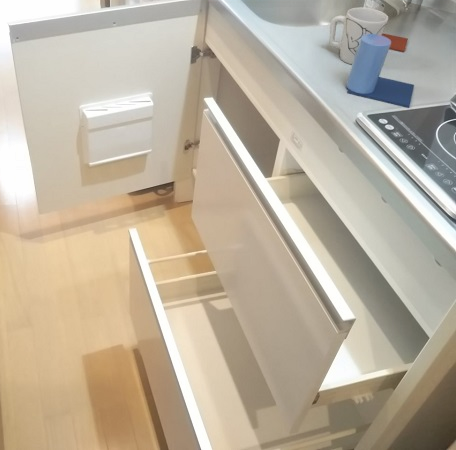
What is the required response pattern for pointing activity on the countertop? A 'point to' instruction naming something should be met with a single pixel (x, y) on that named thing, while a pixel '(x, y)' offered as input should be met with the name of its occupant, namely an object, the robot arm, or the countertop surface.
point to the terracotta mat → (397, 42)
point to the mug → (356, 29)
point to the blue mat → (390, 92)
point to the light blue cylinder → (368, 63)
